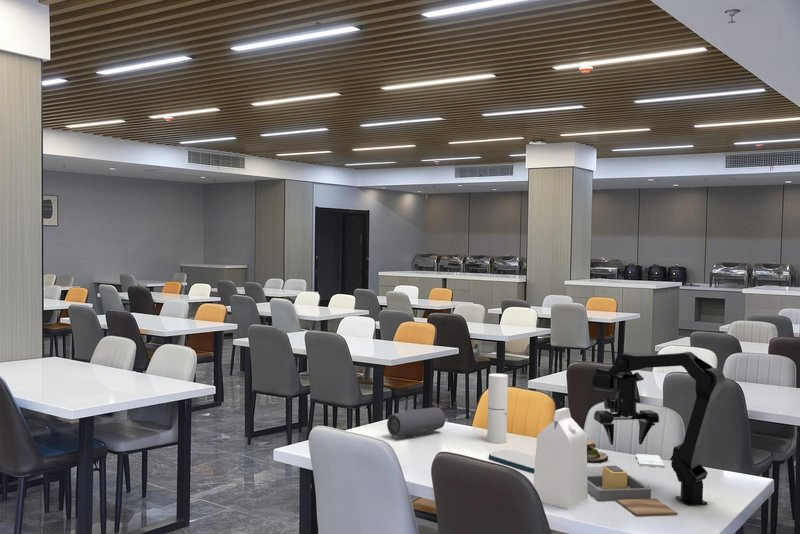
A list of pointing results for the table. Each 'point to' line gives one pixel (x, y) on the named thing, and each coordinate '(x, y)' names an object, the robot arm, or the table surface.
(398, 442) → the table surface
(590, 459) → the burger
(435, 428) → the bluetooth speaker
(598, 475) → the equipment case
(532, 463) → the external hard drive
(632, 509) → the walnut board
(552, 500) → the milk
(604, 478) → the ochre module
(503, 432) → the cylindrical container
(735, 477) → the table surface
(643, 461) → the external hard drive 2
